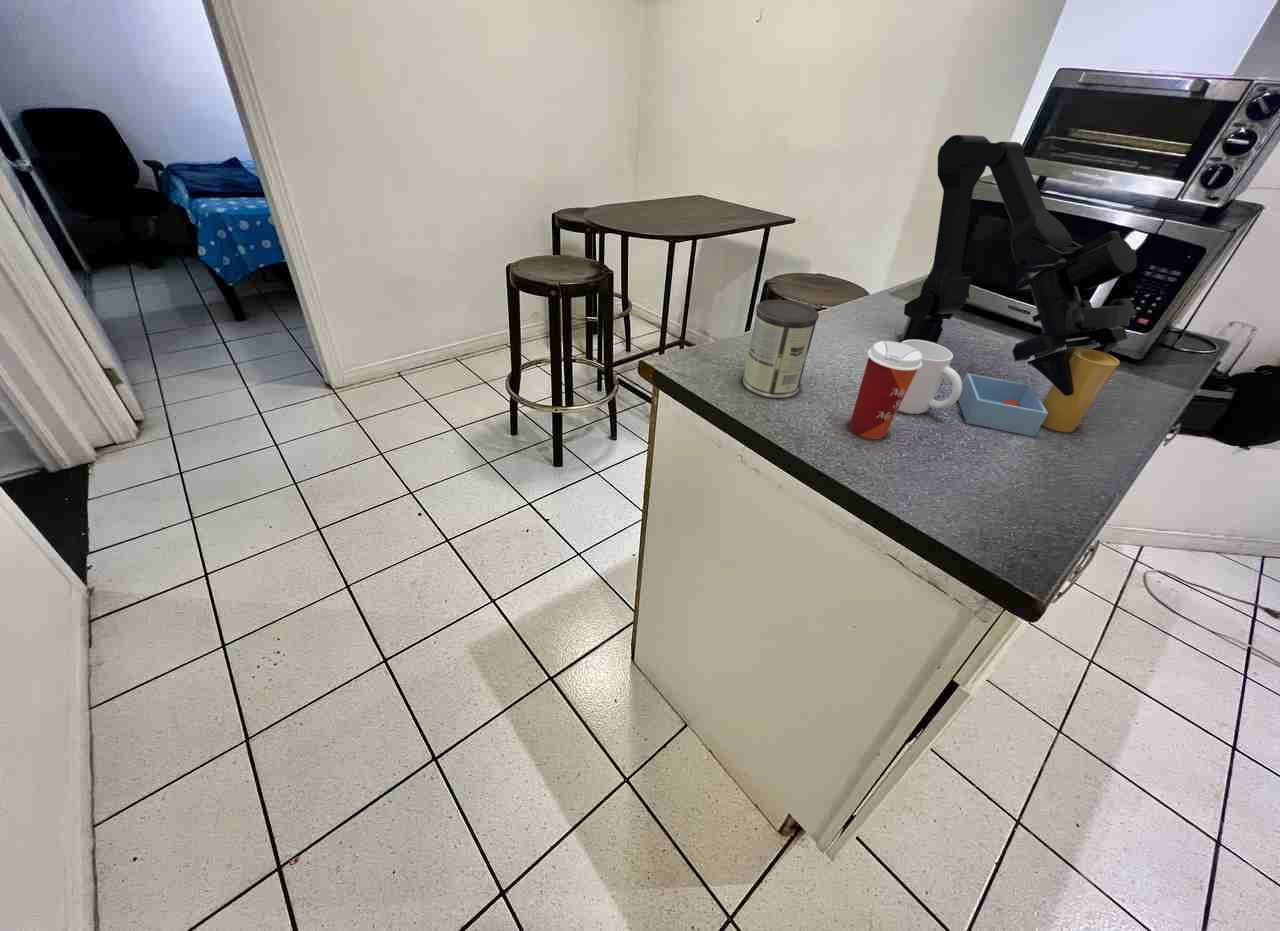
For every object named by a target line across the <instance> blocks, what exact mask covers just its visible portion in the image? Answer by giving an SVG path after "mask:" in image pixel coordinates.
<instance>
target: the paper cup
mask: <svg viewBox="0 0 1280 931" xmlns="http://www.w3.org/2000/svg"><path fill="white" fill-rule="evenodd" d="M867 356H868V358H867V362H866V365H865V369H864V372H863V375H862V378H861V379H862V380H861V383H860V387H859V390H858V393H857V397H856V401H855V404H854V408H853V412H852V416H851V419H850V423H849V428H850V430H851V431H852V432H853V433H854V434H855V435H857V436H859V437H862V438H864V439H867V440H881V439H882V438H884V436H886V434H887V432H888V430H889V428H890V426H891V424H892V422H893V421H894V419H895V416H896V415H897V412H898V411H897V410H898V408H899V406H900V404H901V402H902V400H903V398H904V396H905V394H906V392H907V390H908V388H909V386H910V384H911V382H912V380H913V378H914V376H915V374H916V372H917V370H918V369H919V368H921V366H922V361H921V359H922V354H921V353H920V352H919V351H918V350H917V349H915V348H913V347H911V346H909V345H906V344H902V343H901V342H897V341H891V340H890V341H889V340H883V341H882V340H881V341H877V342H875V343H874V344H873V346H872V347H871V348H870V349H869V350H868V351H867Z"/></svg>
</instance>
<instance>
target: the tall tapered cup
mask: <svg viewBox="0 0 1280 931" xmlns="http://www.w3.org/2000/svg"><path fill="white" fill-rule="evenodd" d="M1120 363H1121V361H1120V360H1119V359H1118V358H1116V357H1114V355H1111V354H1109V353H1108V354H1106V353H1104V352H1101V351H1097V350H1093V349H1087V348H1077V349H1075V351H1074V352H1073V354H1072V356H1071V358H1070V360H1069V364H1070V370H1071V376H1072V382H1073V391H1074V393H1073V394H1072V395H1069V396H1065V395H1064V394H1063V393H1062V392H1061V391H1060V390H1059V389H1058V388H1057V387H1056V386H1055V385H1054V384H1053V383H1052V385H1051V387H1050V388H1049V390H1048V392H1047V393H1046V395H1045V396H1044V398H1043V400H1042V401H1041V402H1042V404H1043V405H1044V407H1045V409H1046V410H1047V412H1048V415H1047V416H1046V418H1045V420H1044V421H1043V423H1042V425H1041V426H1043V427H1044V428H1047V429H1050V430H1051V431H1055V432H1059V433H1060V432H1061V433H1072V432H1074V431H1075V430H1076V429H1077V427H1078V426H1079V424H1080V423H1081V421H1082V420H1083V418H1084V417H1085V415H1086V414H1087V412H1088V411H1089V409H1090V408H1091V407H1092V405H1093V403H1094V402H1095V400H1096V399H1097V398H1098V396H1099V394H1100V393H1101V392H1102V390H1103V389H1104V387H1105V386H1106V384H1107V382H1108V381H1109V380H1110V378H1112V377H1111V376H1112V375H1113V374H1114V372H1115V371H1116V369H1117V368H1118V366H1120Z"/></svg>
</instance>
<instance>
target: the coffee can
mask: <svg viewBox="0 0 1280 931" xmlns="http://www.w3.org/2000/svg"><path fill="white" fill-rule="evenodd" d="M819 316H820V314H819V312H818V311H817V310H816V309H815V308H814V307H812V306H810V305H808V304H805V303H802V302H799V301H794V300H787V299H768V300H763V301H761V302H759V303H757V305H756V308H755V316H754V321H753V327H752V328H753V329H752V333H751V337H750V342H749V343H750V344H749V349H748V355H747V360H746V364H745V369H744V374H743V378H742V383H743V385H744V386H745V388H746V389H748V390H749V391H750V392H752V393H755V394H756V395H759V396H763V397H766V398H771V399H772V398H773V399H784V398H785V399H786V398H790V397H792V396H795V395H796V394H797V393H798V392H799V390H800V384H801V380H802V377H803V373H804V370H805V365H806V361H807V358H808V354H809V352H810V351H809V350H810V348H811V347H810V346H811V343H812V339H813V336H814V332H815V328H816V325H817V322H818V319H819Z"/></svg>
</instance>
